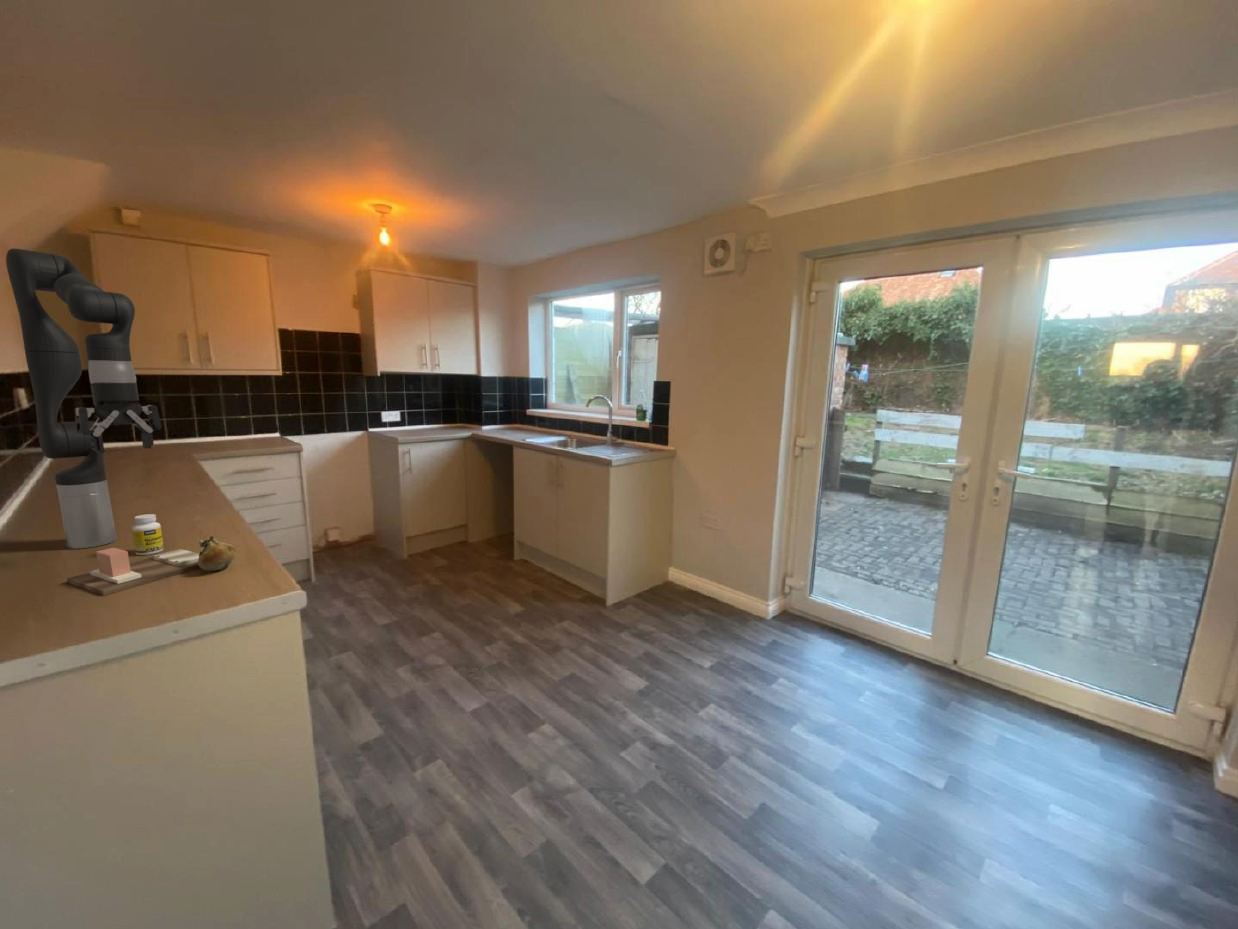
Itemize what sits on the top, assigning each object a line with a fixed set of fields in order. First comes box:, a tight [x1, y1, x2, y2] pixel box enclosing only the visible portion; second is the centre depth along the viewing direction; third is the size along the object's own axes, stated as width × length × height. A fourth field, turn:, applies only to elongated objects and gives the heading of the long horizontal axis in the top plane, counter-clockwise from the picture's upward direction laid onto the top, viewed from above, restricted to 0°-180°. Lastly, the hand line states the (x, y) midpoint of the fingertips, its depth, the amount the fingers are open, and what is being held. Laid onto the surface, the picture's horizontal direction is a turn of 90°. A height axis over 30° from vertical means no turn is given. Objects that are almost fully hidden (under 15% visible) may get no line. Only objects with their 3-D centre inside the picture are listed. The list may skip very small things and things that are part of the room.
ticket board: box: [66, 548, 201, 596], centre depth 115 cm, size 16×20×2 cm
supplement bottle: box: [131, 513, 165, 556], centre depth 128 cm, size 5×5×10 cm
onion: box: [198, 535, 237, 572], centre depth 117 cm, size 8×8×8 cm
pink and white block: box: [89, 547, 141, 584], centre depth 110 cm, size 12×4×6 cm, turn 67°
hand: (124, 450), depth 117 cm, fingers open, 8 cm apart
